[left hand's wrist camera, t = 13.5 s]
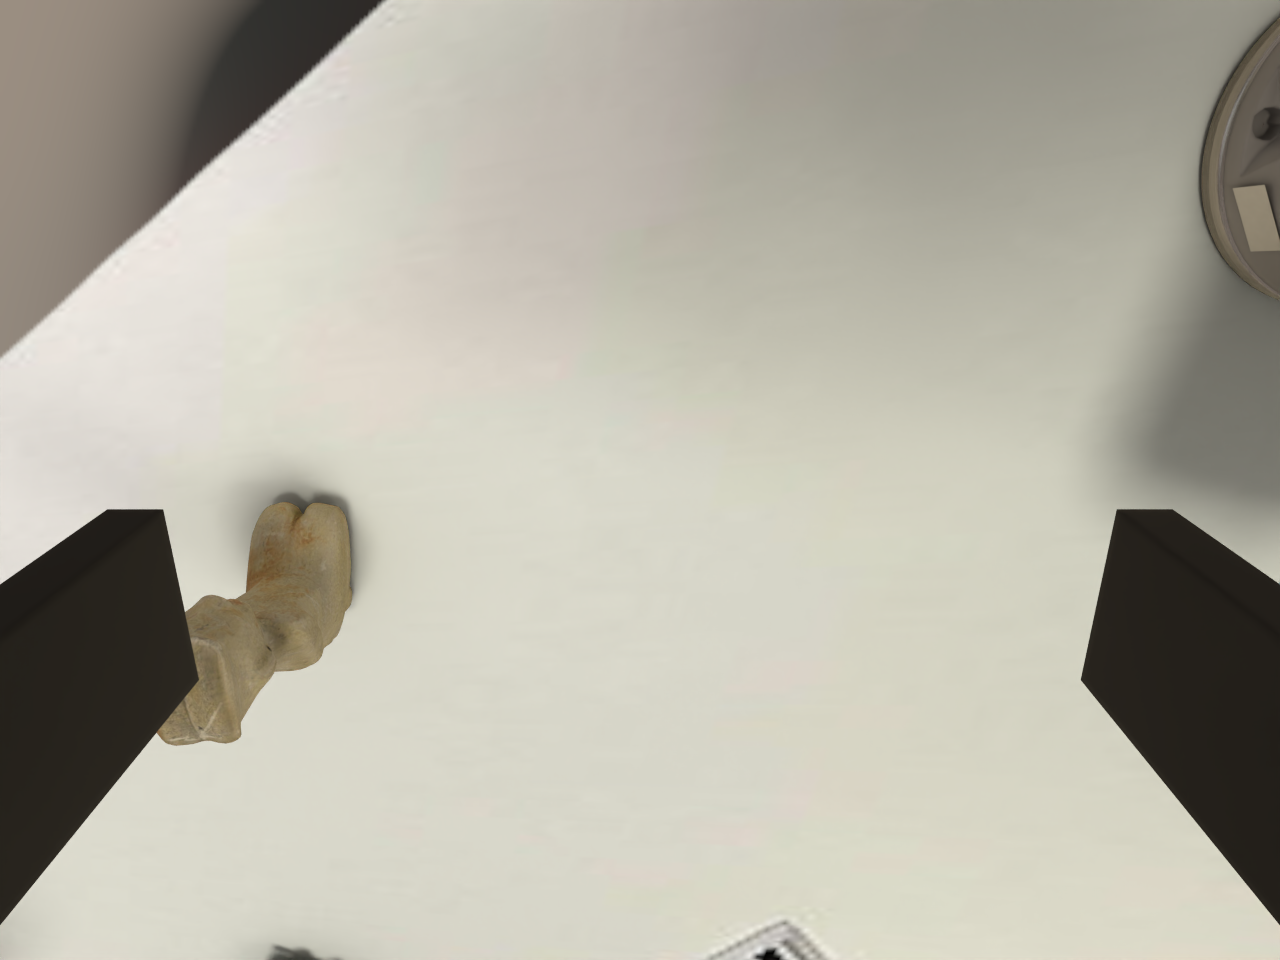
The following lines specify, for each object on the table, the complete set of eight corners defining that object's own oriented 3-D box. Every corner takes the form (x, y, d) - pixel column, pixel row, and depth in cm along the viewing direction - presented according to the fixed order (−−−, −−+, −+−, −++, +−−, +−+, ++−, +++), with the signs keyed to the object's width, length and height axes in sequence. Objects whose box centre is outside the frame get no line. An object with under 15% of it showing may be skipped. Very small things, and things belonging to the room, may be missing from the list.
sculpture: (366, 495, 48) (252, 644, 34) (374, 612, 50) (272, 795, 36) (257, 491, 48) (98, 638, 34) (271, 608, 50) (129, 790, 36)
